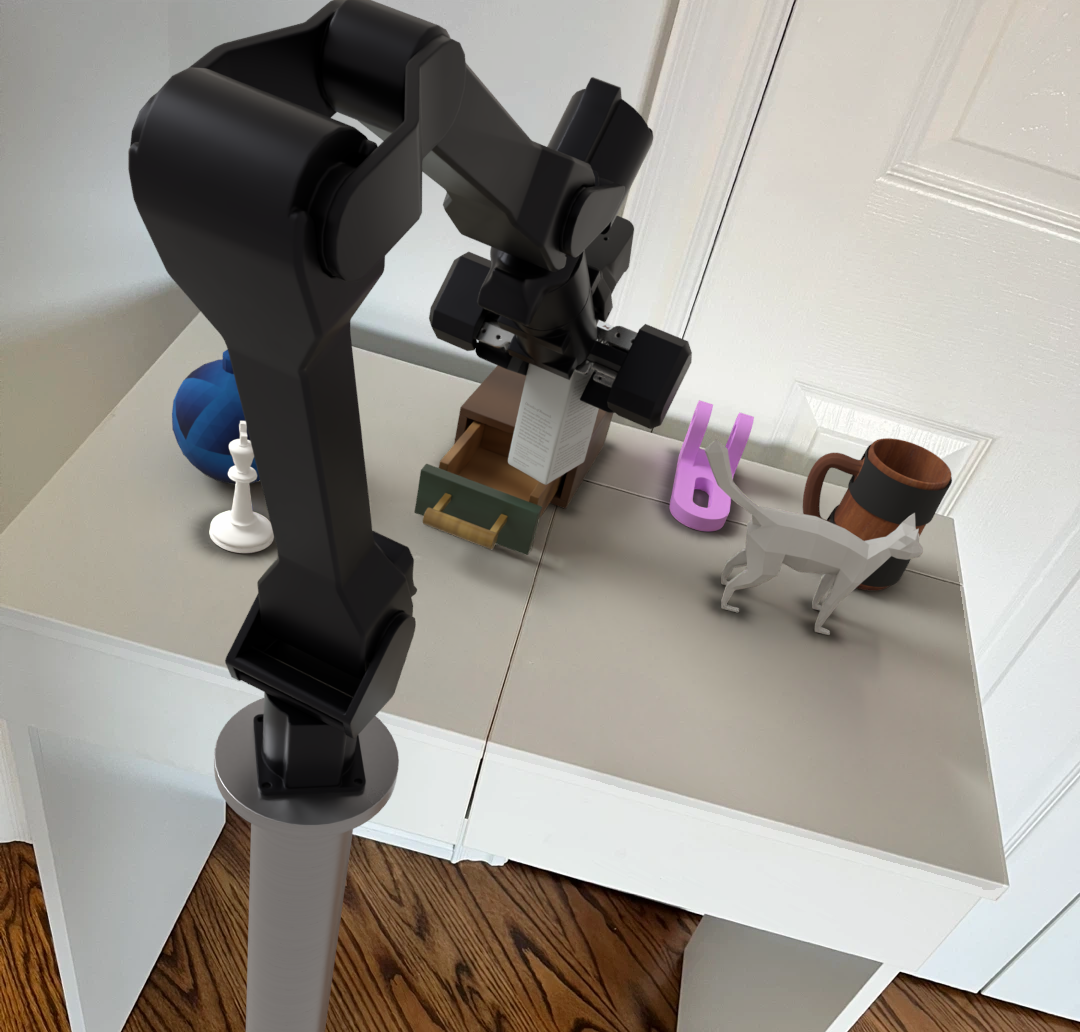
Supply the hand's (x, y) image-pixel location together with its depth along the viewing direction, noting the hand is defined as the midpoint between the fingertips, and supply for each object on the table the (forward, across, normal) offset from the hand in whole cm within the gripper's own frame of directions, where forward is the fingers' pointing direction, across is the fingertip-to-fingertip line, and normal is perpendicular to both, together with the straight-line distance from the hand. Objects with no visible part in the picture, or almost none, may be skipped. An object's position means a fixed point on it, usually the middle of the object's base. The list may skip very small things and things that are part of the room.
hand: (570, 386), depth 81 cm
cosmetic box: (+4, 0, +6) cm, 7 cm away
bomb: (+2, +24, +17) cm, 29 cm away
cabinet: (+17, +5, +2) cm, 18 cm away
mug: (+20, -26, -1) cm, 33 cm away
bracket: (+21, -11, -2) cm, 24 cm away
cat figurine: (+12, -22, +8) cm, 26 cm away
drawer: (+7, +4, +11) cm, 13 cm away
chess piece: (-3, +18, +22) cm, 29 cm away
